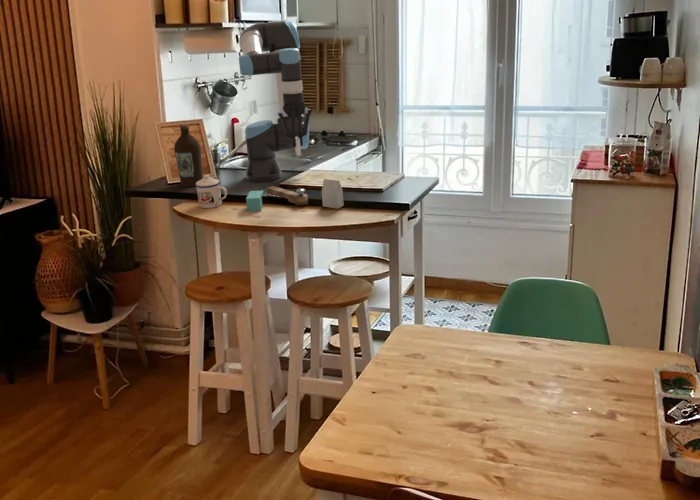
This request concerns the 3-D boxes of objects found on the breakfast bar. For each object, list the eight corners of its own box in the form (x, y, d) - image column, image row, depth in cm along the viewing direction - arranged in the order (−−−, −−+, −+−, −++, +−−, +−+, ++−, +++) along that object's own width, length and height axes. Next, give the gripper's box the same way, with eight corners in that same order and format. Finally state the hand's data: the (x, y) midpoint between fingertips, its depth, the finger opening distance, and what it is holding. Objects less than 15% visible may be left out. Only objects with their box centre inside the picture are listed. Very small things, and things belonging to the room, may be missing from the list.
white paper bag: (337, 208, 272) (336, 182, 268) (322, 206, 276) (320, 180, 272) (343, 205, 275) (341, 179, 271) (328, 203, 279) (326, 177, 275)
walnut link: (310, 203, 279) (310, 195, 278) (300, 206, 276) (300, 198, 275) (275, 193, 294) (274, 185, 293) (265, 196, 291) (265, 188, 290)
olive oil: (186, 180, 322) (178, 122, 312) (209, 180, 319) (201, 122, 310) (175, 187, 312) (166, 127, 303) (198, 187, 309) (190, 127, 300)
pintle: (296, 193, 280) (296, 188, 279) (305, 193, 280) (305, 188, 279) (295, 196, 277) (295, 191, 276) (305, 196, 277) (304, 190, 276)
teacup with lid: (194, 208, 283) (190, 178, 279) (205, 201, 291) (201, 171, 287) (223, 209, 280) (219, 179, 275) (233, 202, 288) (229, 172, 283)
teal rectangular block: (251, 203, 284) (250, 191, 282) (264, 203, 284) (263, 190, 282) (247, 211, 275) (245, 198, 273) (260, 211, 275) (259, 198, 273)
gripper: (307, 88, 281) (312, 150, 289) (273, 92, 277) (279, 154, 286) (312, 91, 274) (317, 154, 282) (277, 95, 270) (283, 159, 279)
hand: (298, 154), depth 284 cm, fingers closed
